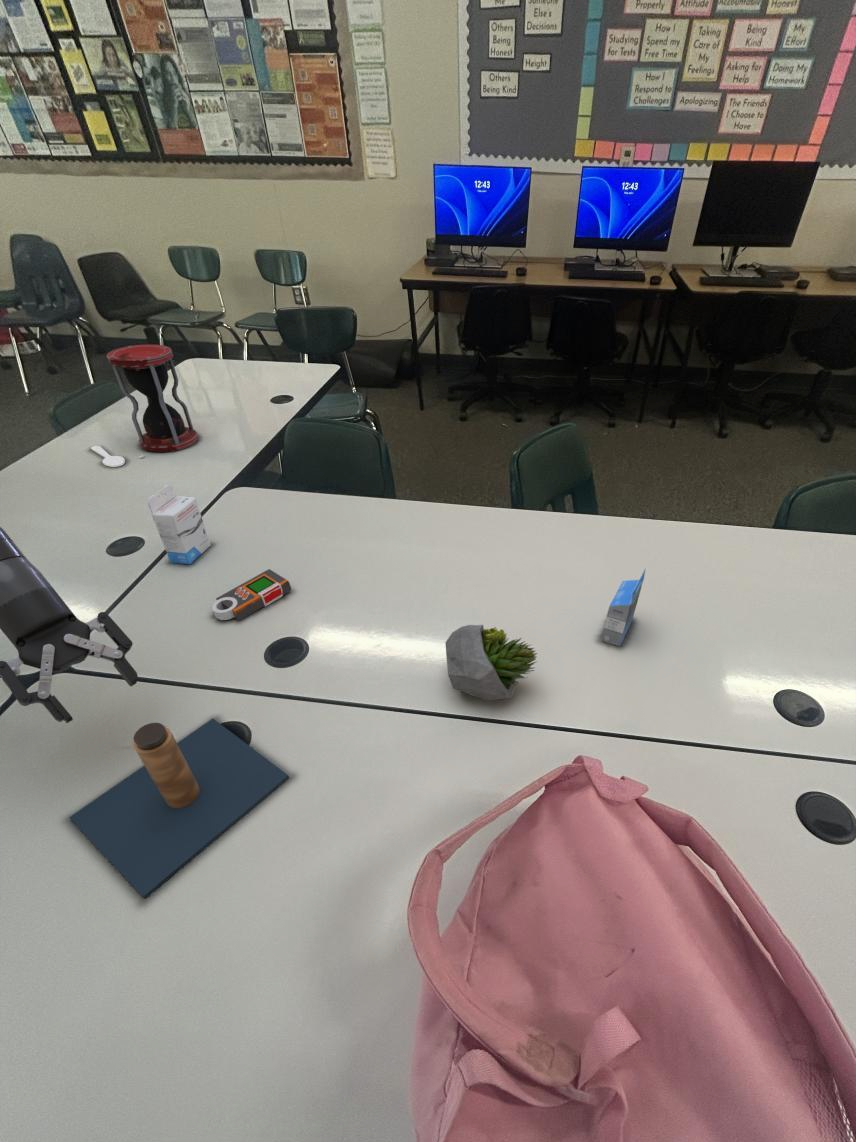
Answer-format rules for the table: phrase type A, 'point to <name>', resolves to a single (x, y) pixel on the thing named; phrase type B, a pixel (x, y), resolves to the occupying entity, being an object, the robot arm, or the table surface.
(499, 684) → the potted plant
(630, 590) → the label tape box
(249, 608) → the electronic device
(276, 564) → the table surface
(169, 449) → the hourglass
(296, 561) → the table surface
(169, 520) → the ink box
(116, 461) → the spoon
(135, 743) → the pepper mill
